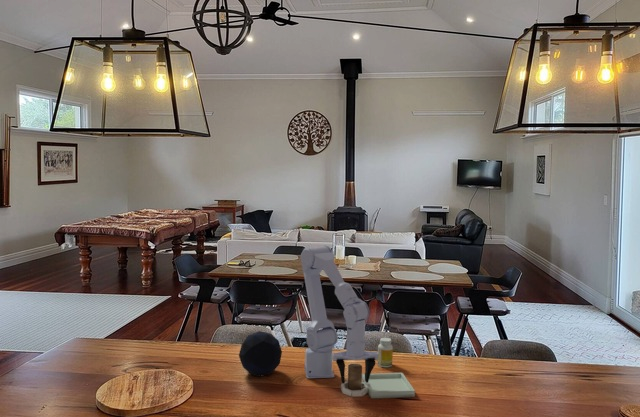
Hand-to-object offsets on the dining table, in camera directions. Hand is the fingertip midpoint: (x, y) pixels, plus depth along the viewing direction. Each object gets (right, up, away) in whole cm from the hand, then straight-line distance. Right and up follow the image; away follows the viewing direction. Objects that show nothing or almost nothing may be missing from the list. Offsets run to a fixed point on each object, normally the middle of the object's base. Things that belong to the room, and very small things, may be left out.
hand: (354, 381), depth 159 cm
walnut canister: (0, -3, 0) cm, 3 cm away
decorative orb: (-32, -2, +12) cm, 34 cm away
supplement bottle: (+13, -2, +22) cm, 25 cm away
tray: (+11, -3, +2) cm, 11 cm away
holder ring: (0, -3, 0) cm, 3 cm away
